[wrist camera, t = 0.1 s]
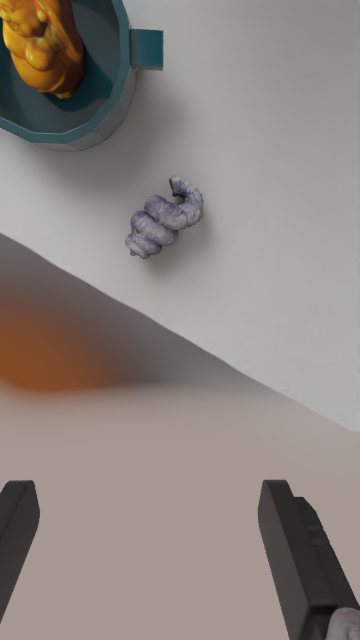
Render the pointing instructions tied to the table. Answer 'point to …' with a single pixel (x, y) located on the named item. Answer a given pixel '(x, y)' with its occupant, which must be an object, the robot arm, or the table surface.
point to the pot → (96, 88)
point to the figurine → (45, 44)
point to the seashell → (164, 219)
